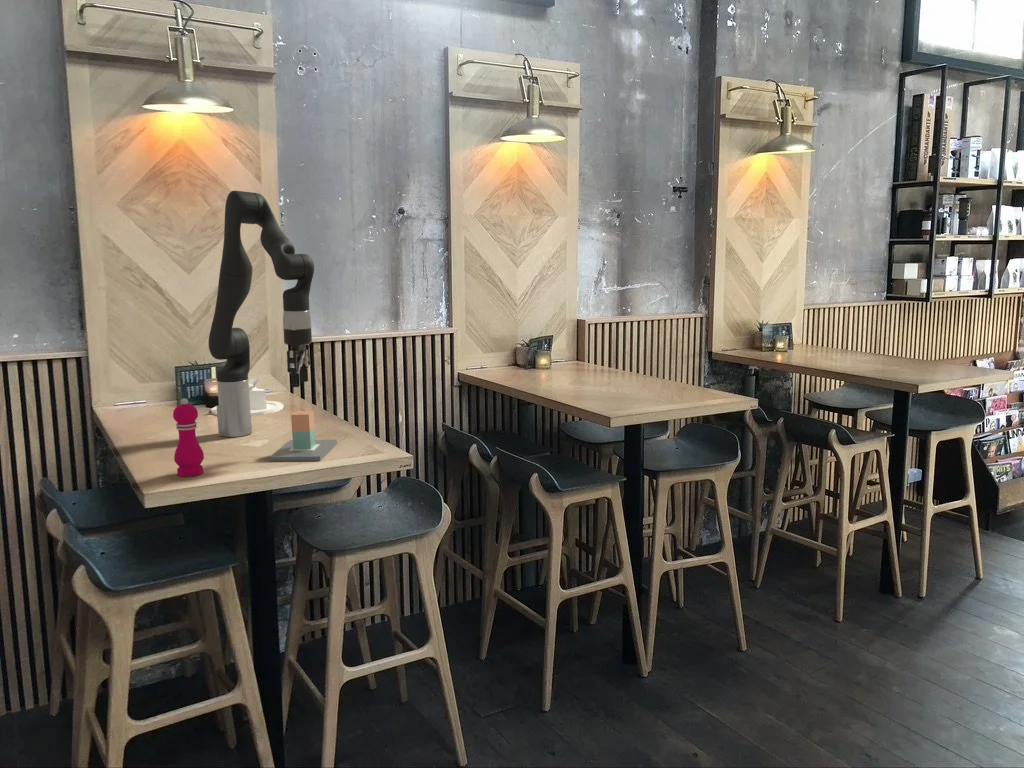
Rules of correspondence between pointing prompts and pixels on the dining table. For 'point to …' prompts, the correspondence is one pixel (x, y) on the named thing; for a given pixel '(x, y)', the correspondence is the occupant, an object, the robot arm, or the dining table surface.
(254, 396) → the dish
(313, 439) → the teal cube
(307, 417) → the orange cube
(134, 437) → the dining table surface
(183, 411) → the pepper mill
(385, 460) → the dining table surface
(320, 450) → the plate
